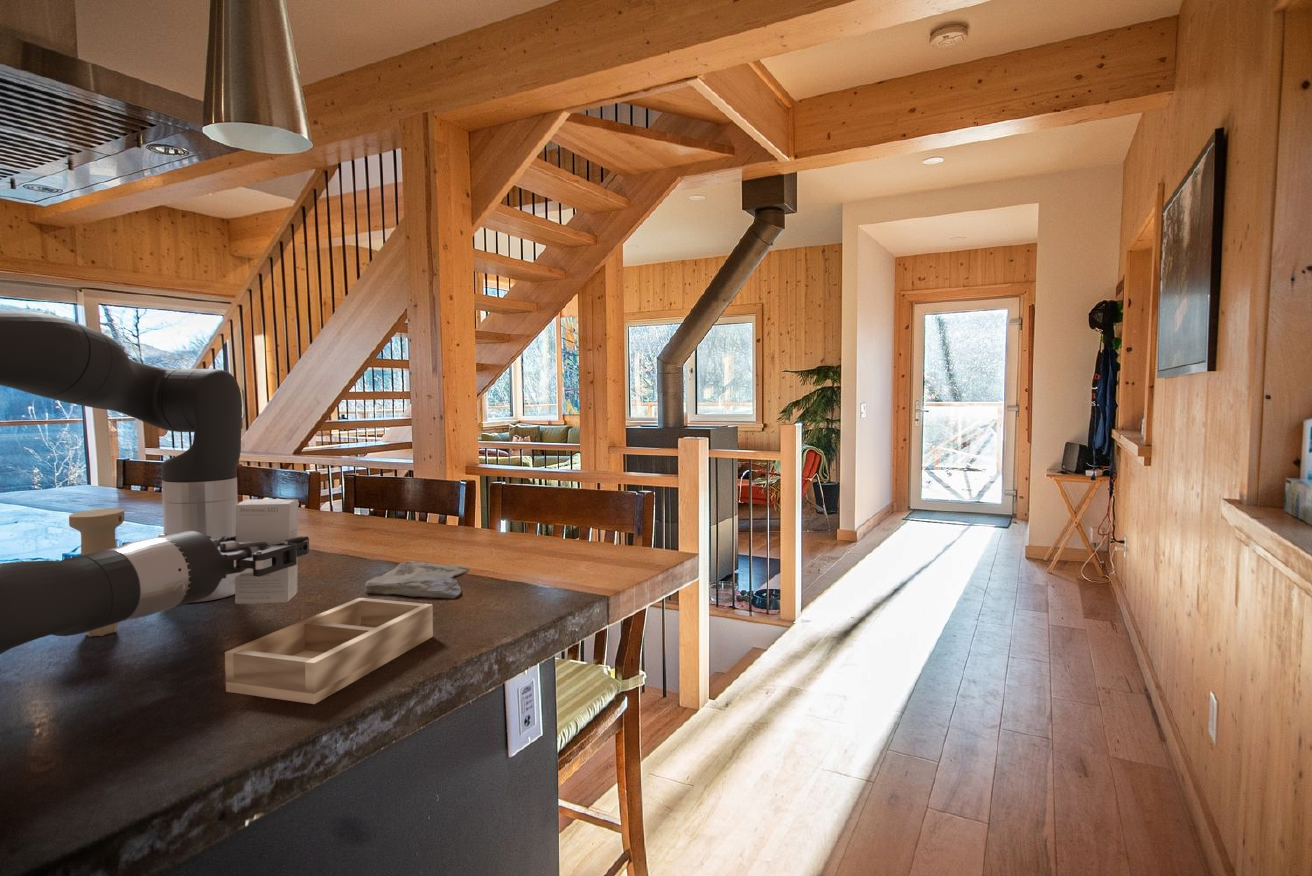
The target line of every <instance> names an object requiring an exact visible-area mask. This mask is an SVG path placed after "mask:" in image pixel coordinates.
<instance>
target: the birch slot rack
mask: <svg viewBox="0 0 1312 876" xmlns="http://www.w3.org/2000/svg"><path fill="white" fill-rule="evenodd" d="M433 608H434V607H433V604H432V603H430V604H429V603H420V602H411V601H409V602H408V601H400V600H398V601H397V600H389V599H378V598H368V597H358V598H355V599H353V600H350V601H347V602H344V603H343V604H339V605H337V606H335V607H333V608H331V609H328V610H326V611H323V612H321V613H317V614H316V615H313V616H310V617H309V618H306V619H304V620H301V621H298V622H296V623H293V624H291V625H289V626H285V627H284V628H281V629H279V630H276V631H273V632H271V633H269V634H267V635H264V636H262V637H259V638H256V639H254V640H251V641H248V642H246V643H244V644H241V645H239V646H236V647H234V648H232V649H229V650H227V651H225V652H224V665H225V667H224V668H225V692H226V693H234V694H241V695H246V696H252V697H253V696H256V697H262V698H266V699H267V698H268V699H275V700H276V699H277V700H283V701H290V702H296V703H297V702H298V703H303V704H304V703H305V704H311V705H316V704H317V703H320V702H321V701H323V700H325V699H326V698H329V697H330V696H331V695H333V694H336V693H337V692H338V691H340V690H342V689H344V688H346V687H348V686H349V685H350V684H352V683H355V682H356V681H358V680H360V679H361V678H363V677H365V676H367V675H369V674H370V673H371V672H373V671H375V670H378V669H379V668H380V667H382V666H384V665H386V664H387V663H389V662H391V661H393V660H394V659H397V658H398V657H400V656H401V655H404V654H405V653H406V652H409V651H410V650H412V649H414V648H415V647H417V646H419V645H420V644H422V643H424V642H426V641H428V640H429V639H431V638H433V637H434V624H433V622H434V620H433V619H434V615H433V614H434V613H433Z"/></svg>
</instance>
